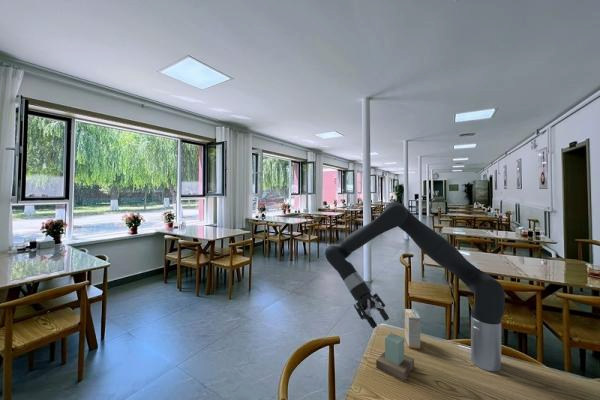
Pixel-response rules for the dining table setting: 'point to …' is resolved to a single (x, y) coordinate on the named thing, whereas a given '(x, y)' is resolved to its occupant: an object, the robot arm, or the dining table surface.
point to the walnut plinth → (396, 367)
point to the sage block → (394, 349)
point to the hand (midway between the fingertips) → (381, 323)
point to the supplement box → (412, 328)
